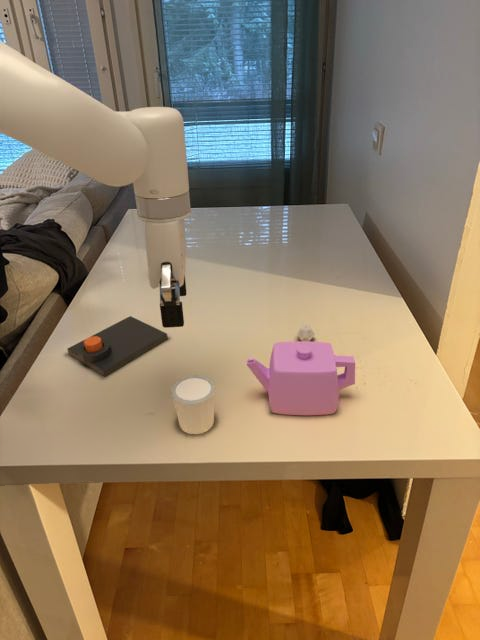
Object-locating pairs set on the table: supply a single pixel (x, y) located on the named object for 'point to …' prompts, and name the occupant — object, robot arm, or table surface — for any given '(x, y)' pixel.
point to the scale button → (93, 344)
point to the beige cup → (194, 403)
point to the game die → (305, 333)
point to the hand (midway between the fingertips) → (175, 310)
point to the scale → (119, 345)
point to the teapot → (304, 377)
